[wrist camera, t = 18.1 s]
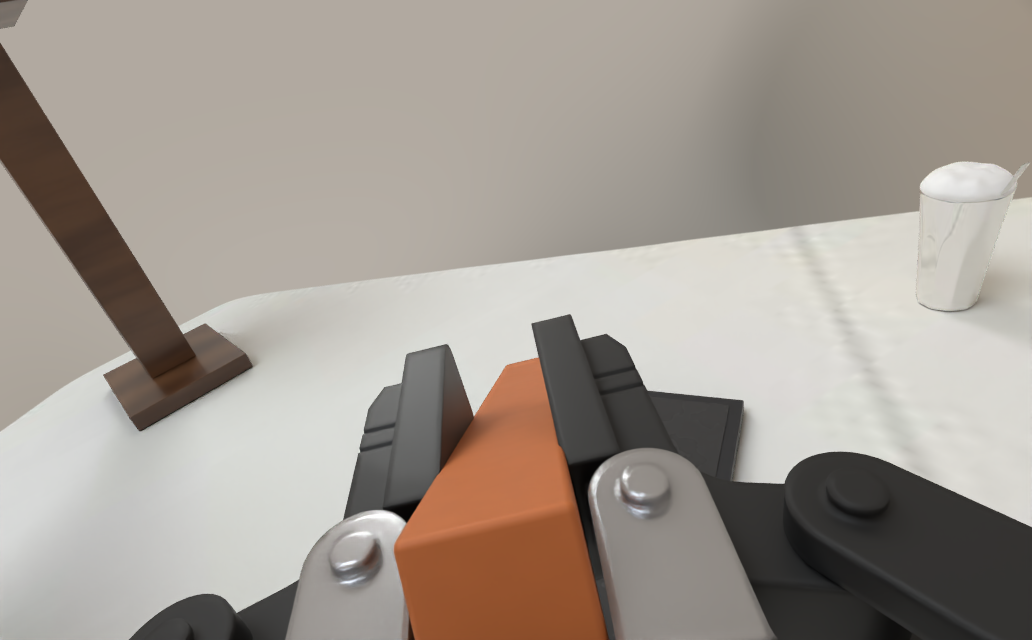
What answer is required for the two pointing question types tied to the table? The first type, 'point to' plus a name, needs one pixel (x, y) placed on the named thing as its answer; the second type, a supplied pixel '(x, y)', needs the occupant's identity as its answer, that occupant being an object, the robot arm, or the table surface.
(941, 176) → the milkshake
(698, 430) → the plate
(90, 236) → the shelf
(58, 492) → the table surface
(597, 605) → the stylus
